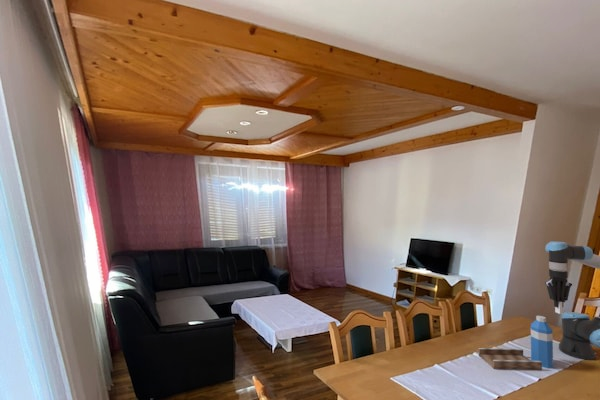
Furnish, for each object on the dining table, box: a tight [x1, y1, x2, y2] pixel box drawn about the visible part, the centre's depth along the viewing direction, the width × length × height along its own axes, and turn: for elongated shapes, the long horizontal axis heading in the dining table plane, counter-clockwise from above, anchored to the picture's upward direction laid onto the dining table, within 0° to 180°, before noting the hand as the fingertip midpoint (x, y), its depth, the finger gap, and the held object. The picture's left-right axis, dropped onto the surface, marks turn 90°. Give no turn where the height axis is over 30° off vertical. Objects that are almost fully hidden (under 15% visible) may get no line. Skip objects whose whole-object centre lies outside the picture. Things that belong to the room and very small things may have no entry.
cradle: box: [478, 347, 543, 371], centre depth 151 cm, size 24×13×4 cm, turn 89°
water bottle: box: [530, 315, 554, 369], centre depth 151 cm, size 9×9×25 cm
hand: (558, 313), depth 152 cm, fingers closed
